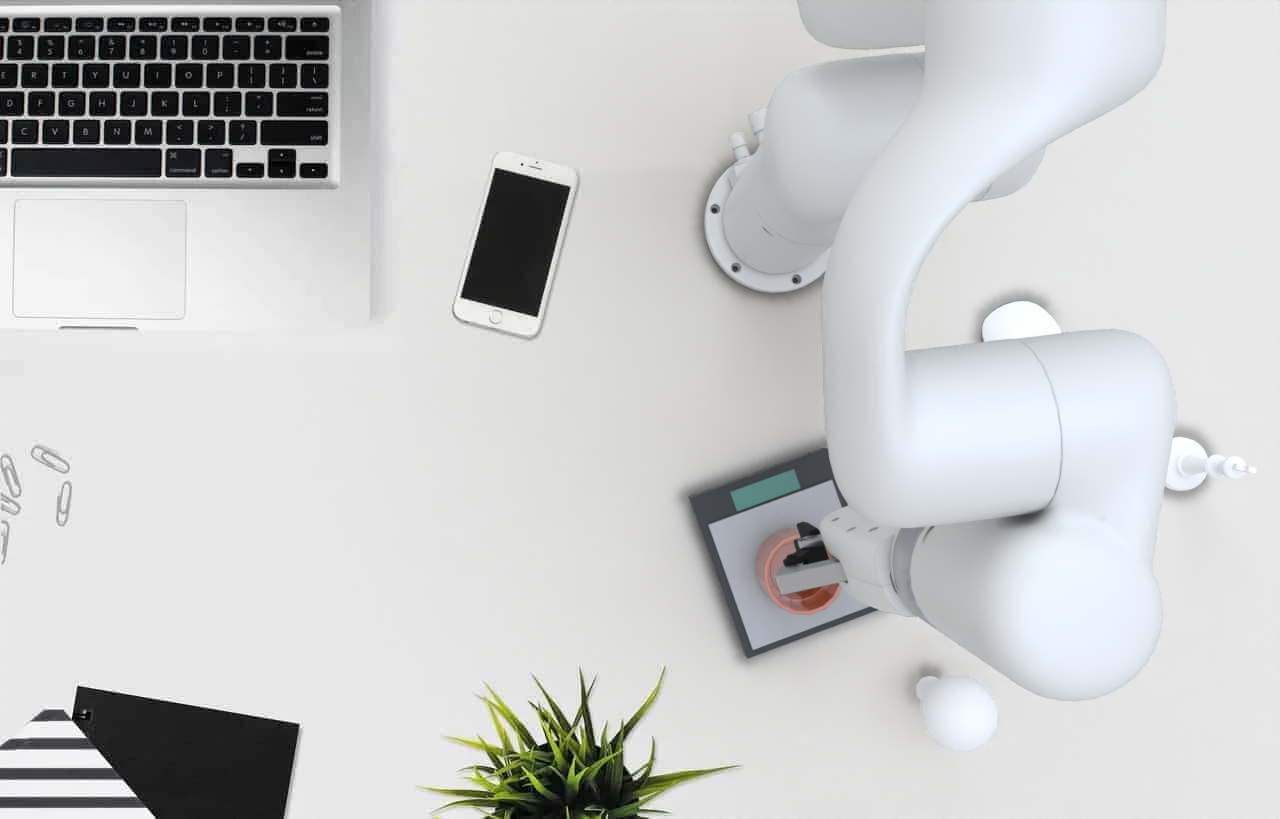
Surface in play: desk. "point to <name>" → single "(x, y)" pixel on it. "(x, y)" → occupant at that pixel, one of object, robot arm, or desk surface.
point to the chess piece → (1200, 465)
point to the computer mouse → (1018, 322)
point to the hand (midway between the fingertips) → (873, 520)
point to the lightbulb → (957, 712)
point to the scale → (742, 525)
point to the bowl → (772, 561)
